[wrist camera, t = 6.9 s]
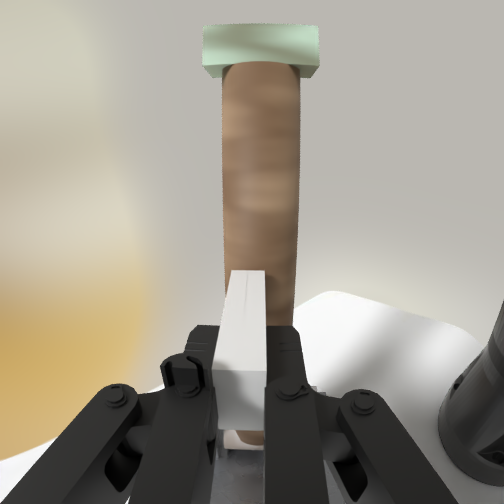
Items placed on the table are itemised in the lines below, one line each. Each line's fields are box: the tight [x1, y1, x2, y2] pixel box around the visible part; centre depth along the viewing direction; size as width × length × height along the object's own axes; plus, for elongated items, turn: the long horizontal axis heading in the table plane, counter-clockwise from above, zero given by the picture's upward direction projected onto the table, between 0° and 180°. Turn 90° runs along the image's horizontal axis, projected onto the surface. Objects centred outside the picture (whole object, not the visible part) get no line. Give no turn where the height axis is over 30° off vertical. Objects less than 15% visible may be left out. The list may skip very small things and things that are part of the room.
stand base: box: [210, 386, 345, 504], centre depth 21 cm, size 12×12×7 cm
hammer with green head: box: [202, 24, 319, 450], centre depth 17 cm, size 5×4×26 cm
